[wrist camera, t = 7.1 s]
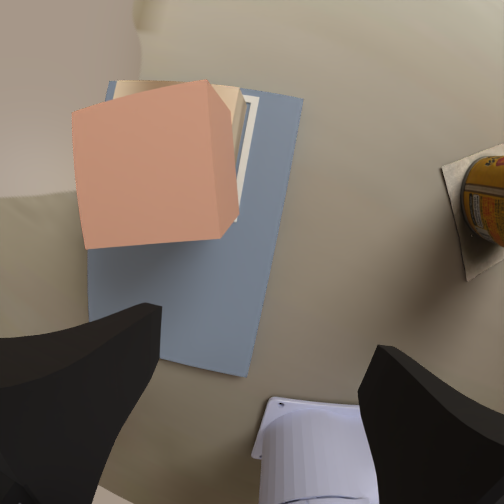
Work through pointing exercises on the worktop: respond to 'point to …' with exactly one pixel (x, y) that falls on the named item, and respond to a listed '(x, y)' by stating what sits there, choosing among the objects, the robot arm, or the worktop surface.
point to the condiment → (478, 207)
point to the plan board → (211, 254)
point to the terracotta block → (155, 167)
